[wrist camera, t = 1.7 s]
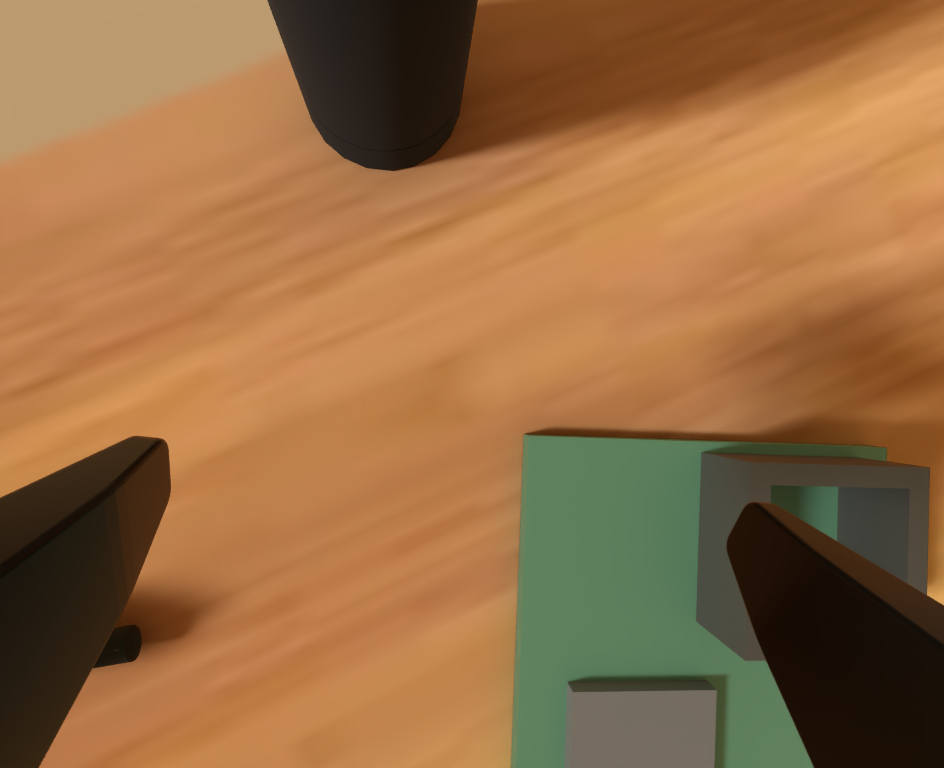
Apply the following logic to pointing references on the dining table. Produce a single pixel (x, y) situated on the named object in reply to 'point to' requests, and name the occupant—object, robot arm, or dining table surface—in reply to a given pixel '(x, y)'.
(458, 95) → the wine bottle
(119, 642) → the handheld radio
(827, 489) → the board
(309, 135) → the dining table surface
